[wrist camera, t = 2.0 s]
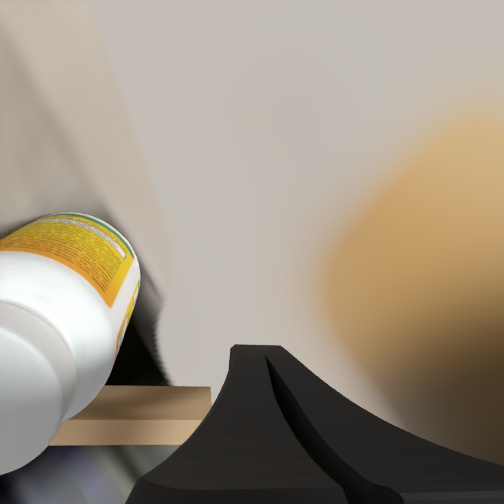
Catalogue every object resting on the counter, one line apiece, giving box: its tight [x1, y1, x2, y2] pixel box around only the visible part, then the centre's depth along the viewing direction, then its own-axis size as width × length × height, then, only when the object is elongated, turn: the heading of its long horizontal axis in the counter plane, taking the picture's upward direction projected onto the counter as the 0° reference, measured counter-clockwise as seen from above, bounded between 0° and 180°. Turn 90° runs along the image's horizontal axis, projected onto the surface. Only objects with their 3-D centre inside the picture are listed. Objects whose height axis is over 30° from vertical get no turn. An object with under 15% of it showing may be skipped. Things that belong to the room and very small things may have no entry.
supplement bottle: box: [0, 212, 140, 475], centre depth 14 cm, size 5×5×10 cm
